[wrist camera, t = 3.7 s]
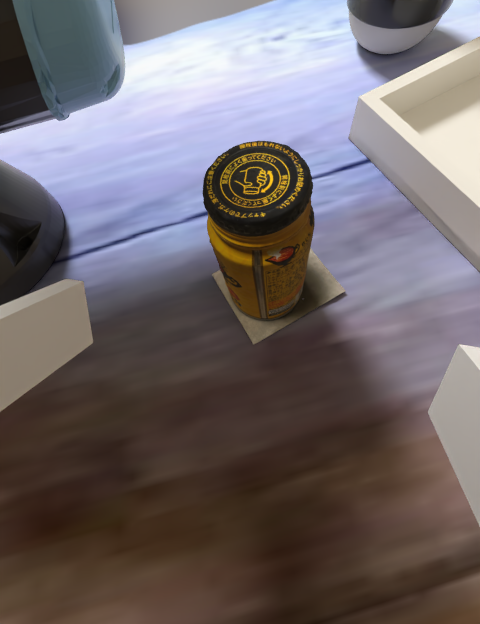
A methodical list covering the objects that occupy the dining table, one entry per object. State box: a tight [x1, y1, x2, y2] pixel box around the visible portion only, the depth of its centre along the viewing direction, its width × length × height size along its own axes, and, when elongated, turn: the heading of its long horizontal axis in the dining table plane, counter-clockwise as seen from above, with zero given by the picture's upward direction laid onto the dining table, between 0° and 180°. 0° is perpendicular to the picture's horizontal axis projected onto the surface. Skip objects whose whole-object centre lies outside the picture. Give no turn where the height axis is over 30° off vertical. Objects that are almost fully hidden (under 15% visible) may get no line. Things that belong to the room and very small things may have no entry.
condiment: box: [203, 141, 345, 344], centre depth 19 cm, size 7×8×12 cm
